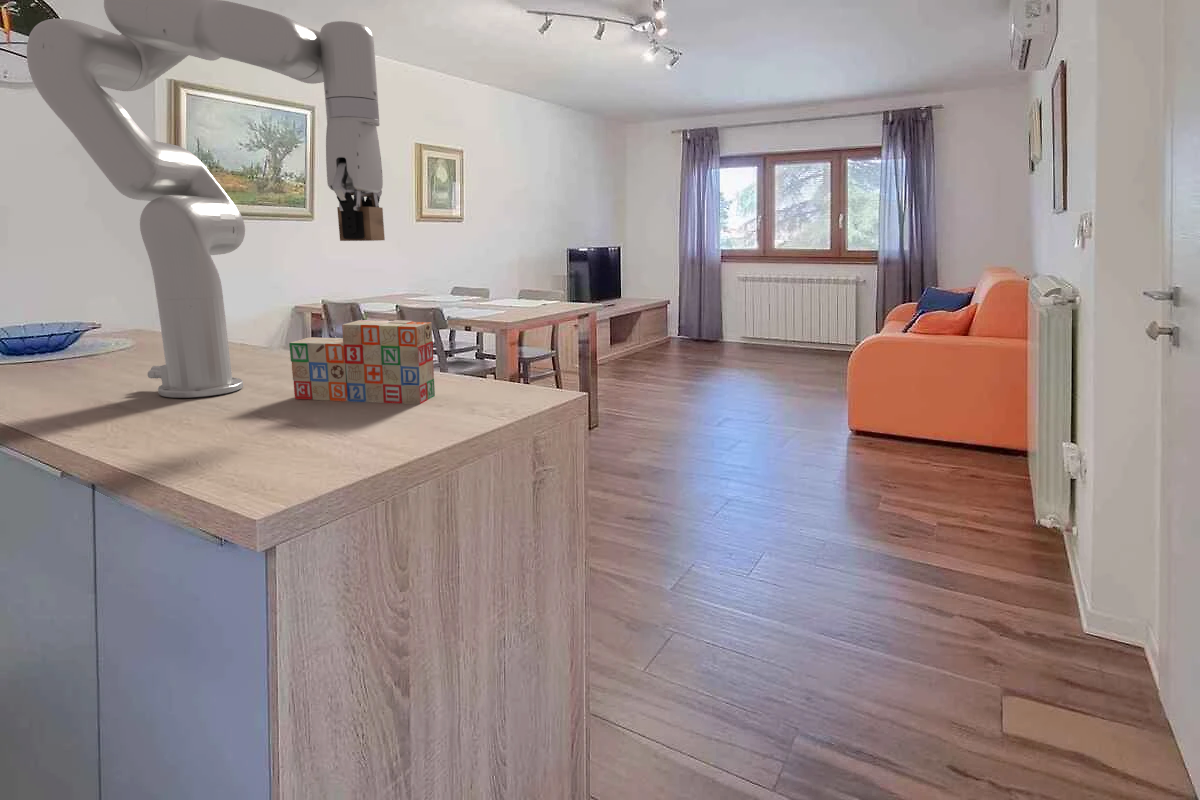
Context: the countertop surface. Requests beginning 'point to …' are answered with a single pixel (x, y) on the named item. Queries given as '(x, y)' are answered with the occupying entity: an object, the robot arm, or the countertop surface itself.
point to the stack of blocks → (367, 363)
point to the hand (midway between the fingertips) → (362, 237)
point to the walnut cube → (367, 224)
